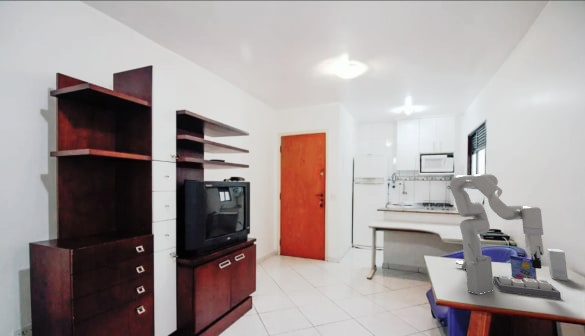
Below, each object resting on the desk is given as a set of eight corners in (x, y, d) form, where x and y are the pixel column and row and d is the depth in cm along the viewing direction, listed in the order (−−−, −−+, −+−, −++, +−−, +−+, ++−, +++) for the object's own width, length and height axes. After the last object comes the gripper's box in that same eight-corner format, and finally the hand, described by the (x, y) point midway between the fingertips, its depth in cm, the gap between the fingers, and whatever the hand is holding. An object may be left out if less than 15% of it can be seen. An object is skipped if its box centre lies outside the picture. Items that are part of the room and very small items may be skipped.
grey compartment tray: (500, 291, 133) (499, 285, 133) (493, 281, 146) (493, 276, 146) (560, 298, 123) (560, 292, 123) (548, 287, 135) (547, 282, 135)
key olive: (527, 287, 132) (526, 280, 132) (523, 283, 136) (523, 277, 136) (538, 288, 130) (537, 281, 130) (534, 285, 134) (533, 278, 135)
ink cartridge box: (511, 276, 153) (509, 251, 154) (515, 274, 155) (513, 249, 156) (532, 281, 144) (530, 254, 145) (537, 279, 147) (534, 253, 148)
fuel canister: (474, 296, 128) (470, 244, 129) (464, 292, 132) (461, 242, 134) (494, 291, 134) (490, 241, 135) (483, 287, 138) (480, 239, 140)
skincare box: (568, 281, 143) (565, 252, 144) (551, 279, 147) (549, 250, 148) (564, 276, 150) (562, 249, 151) (548, 274, 154) (546, 247, 155)
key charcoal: (540, 288, 130) (540, 282, 130) (536, 285, 134) (536, 278, 134) (551, 290, 128) (551, 283, 128) (547, 286, 132) (547, 280, 132)
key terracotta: (514, 287, 134) (513, 281, 134) (511, 284, 138) (510, 278, 139) (524, 289, 132) (524, 282, 133) (521, 285, 137) (521, 279, 137)
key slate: (501, 284, 137) (500, 277, 137) (499, 281, 141) (498, 274, 141) (511, 285, 135) (511, 279, 135) (508, 282, 139) (508, 276, 139)
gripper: (519, 228, 142) (522, 263, 140) (528, 233, 129) (531, 271, 127) (537, 229, 138) (541, 264, 137) (548, 234, 125) (552, 273, 124)
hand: (536, 267), depth 132 cm, fingers closed
